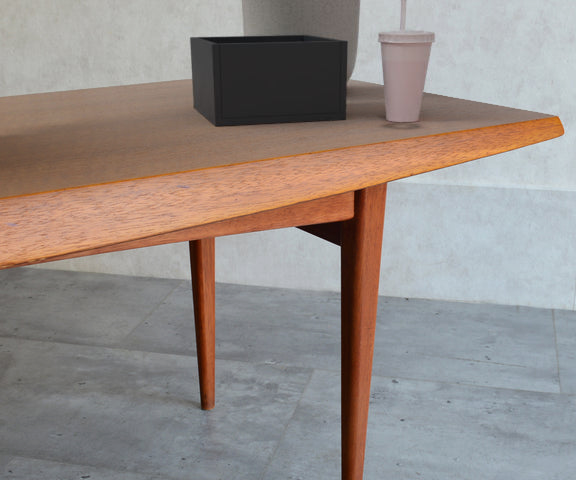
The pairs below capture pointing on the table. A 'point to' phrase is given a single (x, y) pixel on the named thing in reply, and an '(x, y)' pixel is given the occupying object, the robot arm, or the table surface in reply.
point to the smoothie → (404, 70)
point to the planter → (305, 21)
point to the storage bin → (269, 79)
